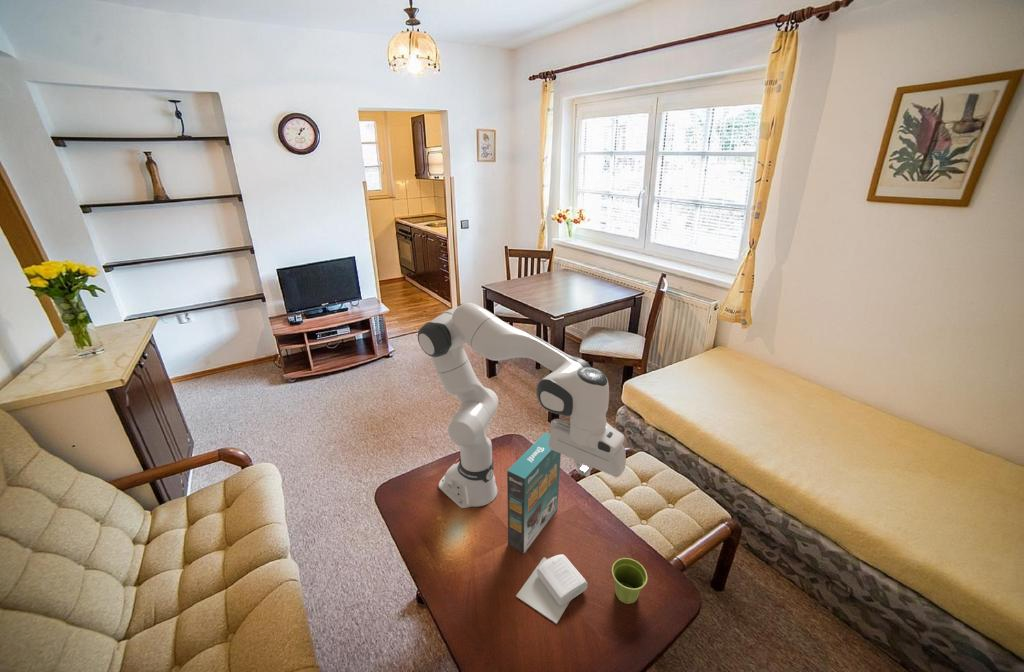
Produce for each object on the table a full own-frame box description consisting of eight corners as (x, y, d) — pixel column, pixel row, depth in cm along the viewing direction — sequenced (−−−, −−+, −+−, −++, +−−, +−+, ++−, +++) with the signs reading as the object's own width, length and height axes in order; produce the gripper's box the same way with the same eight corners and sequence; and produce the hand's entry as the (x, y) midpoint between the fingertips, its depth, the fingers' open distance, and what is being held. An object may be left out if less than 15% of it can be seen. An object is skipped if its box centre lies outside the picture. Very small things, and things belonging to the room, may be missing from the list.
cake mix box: (542, 501, 149) (545, 432, 137) (557, 508, 146) (561, 438, 134) (507, 544, 133) (507, 470, 121) (523, 553, 130) (524, 478, 118)
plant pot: (637, 617, 112) (641, 595, 108) (604, 599, 116) (607, 578, 113) (647, 589, 119) (651, 568, 116) (615, 573, 124) (618, 552, 120)
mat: (516, 596, 117) (516, 595, 117) (543, 557, 128) (543, 556, 128) (556, 624, 110) (556, 623, 110) (582, 580, 121) (582, 579, 121)
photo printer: (588, 590, 118) (560, 557, 128) (588, 579, 116) (561, 547, 126) (559, 609, 113) (533, 574, 123) (559, 599, 111) (533, 564, 121)
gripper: (545, 422, 107) (543, 465, 112) (621, 452, 96) (615, 497, 102) (557, 410, 112) (555, 452, 117) (631, 438, 101) (625, 482, 106)
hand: (583, 473), depth 109 cm, fingers closed
